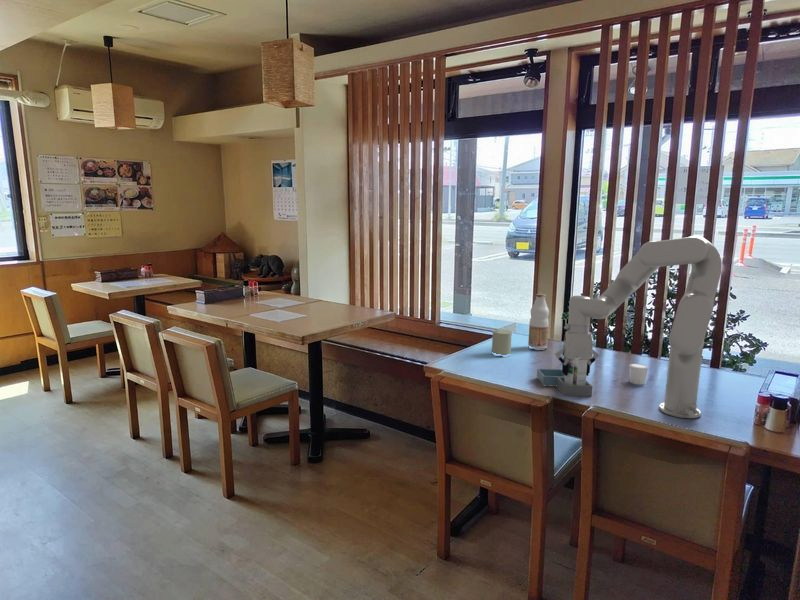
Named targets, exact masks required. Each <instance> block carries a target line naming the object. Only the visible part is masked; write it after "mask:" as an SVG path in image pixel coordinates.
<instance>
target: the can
mask: <svg viewBox="0 0 800 600" xmlns="http://www.w3.org/2000/svg"><path fill="white" fill-rule="evenodd" d="M512 334H513V332H512V330H507V329H494V330H492V338H491V339H492V340H491V353H492V352H493V353H496V354H501V355H507V354H510V353H512V350H511V349H512Z"/></svg>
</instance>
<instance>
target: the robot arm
mask: <svg viewBox="0 0 800 600" xmlns="http://www.w3.org/2000/svg"><path fill="white" fill-rule="evenodd" d="M681 265H682V266H683V265H691V266H690V267H691V269H690V273H689V277H688V281H687V285H686V288H685V291H684V294H683V296H682V298H681V299H680V301H679V303H678V306H677V309H676V311H675V315H674V320H673V322H672V326H671V330H670V333H669V337H668V343H669V347H670V348H669V357H668V365H667V366H668V367H667V372H666V373H667V374H666V385H665V392H664V393H665V394H664V402H661V403H660V404H659V405H658V409H659V410H660V411H661V412H662V413H665V414H666V415H669V416H672V417H675V418H682V419H698V418H699V417H701V414H702V413H701V410H700V409H699V408H698V407H697V406H698V404H697V402H698V401H697V400H698V393H699V383H700V374H701V368H702V360H703V351H704V343H705V337H706V335H707V332H708V331H707V330H708V327H709V324H710V320H711V318H712V314H713V310H714V302H715V297H716V294H717V290H718V286H719V282H720V280H721V279H720V278H721V274H722V270H723V269H722V268H723V264H722V257H721V254H720V253H719V250H718V249H717V247H716V246H715V245H713V244H712V243H711V242H710V241H709V239H706V238H705V237H702V236H699V235H690V236H688V237H687V236H686V237H681V238H679V237H678V238H673V239H664V240H650V241H647V242H645V243H644V244H642V245H641V247H640V248H639V249H638V252H637V253H636V254H635V255H634V256H633V257H632V258H631V259H630V260H629V261H628V262H627V263H626V264H625V265H624V266H623V267H622V268H621V270H619V272H618V273H617V275H616V278H615V279H614V280H613V282H612V283H611V284H609V286H608V287H607V288H606V289H605V290H604V292H602V294H601V295H599V296H598V297H596V298H590V297H589V296H586V295H572V296H571V297H570V298H569V305H568V307H569V308H568V323H567V324H566V325H564V326H563V328H564V330H566V332H565V334H564V338H563V339H564V340H563V344H562V348H561V349H559V350H558V351H556V352H555V353H554V355H555V356H556V358H557V359H558V361H559V362H560V363H561V364H562V367H561V368H562V372H563V374H564V375H565V376H567V375H568V365H567V363H568V361H569V360H574V359H575V357H580V358H581V359H582V360H587V373H586V377H588V376H590V375H589V374H590V372H591V371H590V370H591V366H592V364H593V363H594V362H595V361H596V360H597V359H598V358H599V357H600V355H599V354H598V353H597V352H596V351H595V350H594V349H593V336H592V333H591V332H590V326H591V325H590V323H591V322H590V321H591V318H593V319H597V320H603V319H607V318H609V316H610V315H611V314H613V313H614V312H615V311H616V310H617V309H618V308H619V307H620V306H621V305H622V304H623V303H624V302H625V301H626V300H627V299H628V298H630V296H631V295H632V294H633V293H634V292H637V290H638V289H640V287H642V285H643V284H644V283H645V282H646V281H647V280H648V279H649V278H650V277H651V276H652V275H653V274H654V273H655V272H657V270H658V269H659V268H660V267H670V266H681ZM561 355H562V356H563V357H562V356H561Z"/></svg>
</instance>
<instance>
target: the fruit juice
mask: <svg viewBox="0 0 800 600" xmlns="http://www.w3.org/2000/svg"><path fill="white" fill-rule="evenodd" d="M546 297H547V295H546V294H545V293H536V294H535V300H534V303H533V305H532V307H531V308H530V319H529V328H528V343H527V344H528V345H529V346H531V347H535V348H547V349H548V345H549V344H548V342H549V327H550V326H549V325H550V324H549V323H550V322H549V315H550V310H549V309H550V308H549V307H548V304H547V301H546ZM528 345H527V346H528Z"/></svg>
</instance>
